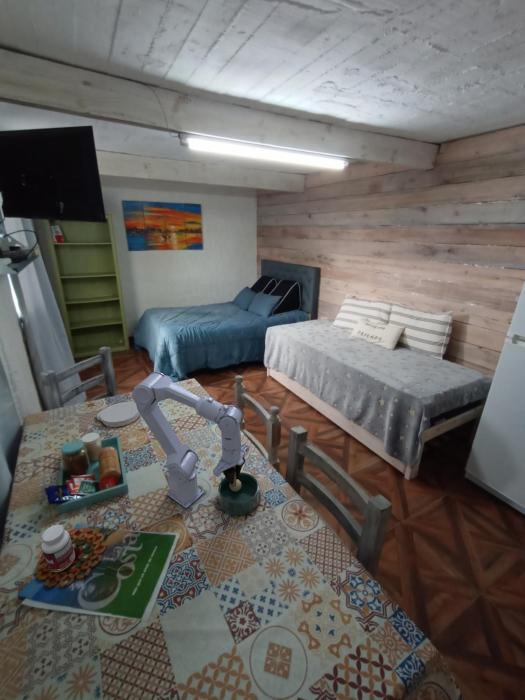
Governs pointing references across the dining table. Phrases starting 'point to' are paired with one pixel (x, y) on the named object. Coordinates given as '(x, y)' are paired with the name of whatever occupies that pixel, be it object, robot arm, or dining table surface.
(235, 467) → the stick
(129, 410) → the lid
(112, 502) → the dining table surface
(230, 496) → the bowl
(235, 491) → the ball
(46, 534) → the pill bottle
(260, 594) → the dining table surface
